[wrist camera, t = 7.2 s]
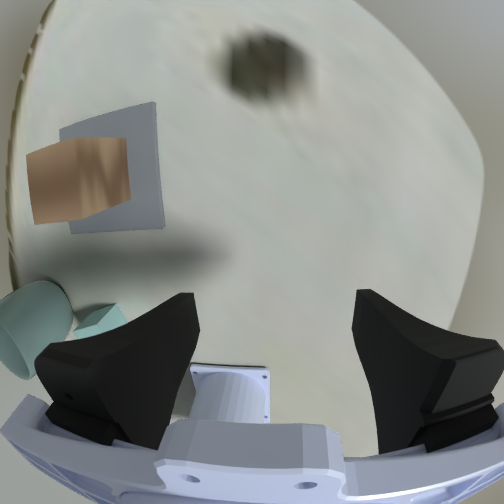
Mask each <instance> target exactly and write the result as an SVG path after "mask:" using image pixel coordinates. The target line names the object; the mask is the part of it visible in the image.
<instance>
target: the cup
mask: <svg viewBox="0 0 504 504" xmlns="http://www.w3.org/2000/svg"><path fill="white" fill-rule="evenodd" d="M72 323H73V313H72V308H71V305H70V303H69V300H68V298H67V296H66V295H65V293H64V292H63V291H62V289H61V288H60V287H59V286H57V285H56V284H54V283H52V282H50V281H46V280H38V281H33V282H30V283H28V284H26V285H24V286H22V287H20V288H18V289H16V290H15V291H13V292H11V293H10V294H8V295H7V296H5V297H4V298H3V299H1V300H0V360H1V361H2V363H3V364H4V365H5V366H6V367H7V368H8V369H9V370H10V371H11V372H12V373H14V374H15V375H17V376H18V377H20V378H22V379H25V380H29V379H31V378H32V377H33V376H35V374H36V370H35V367H34V360H35V359H36V357H37V356H38V355H39V354H40V353H41V352H42V351H43V350H44V349H45V348H46V347H47V346H48V345H49V344H50V343H55V342H64V340H65V339H66V337H67V336H68V334H69V332H70V330H71V327H72Z"/></svg>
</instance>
